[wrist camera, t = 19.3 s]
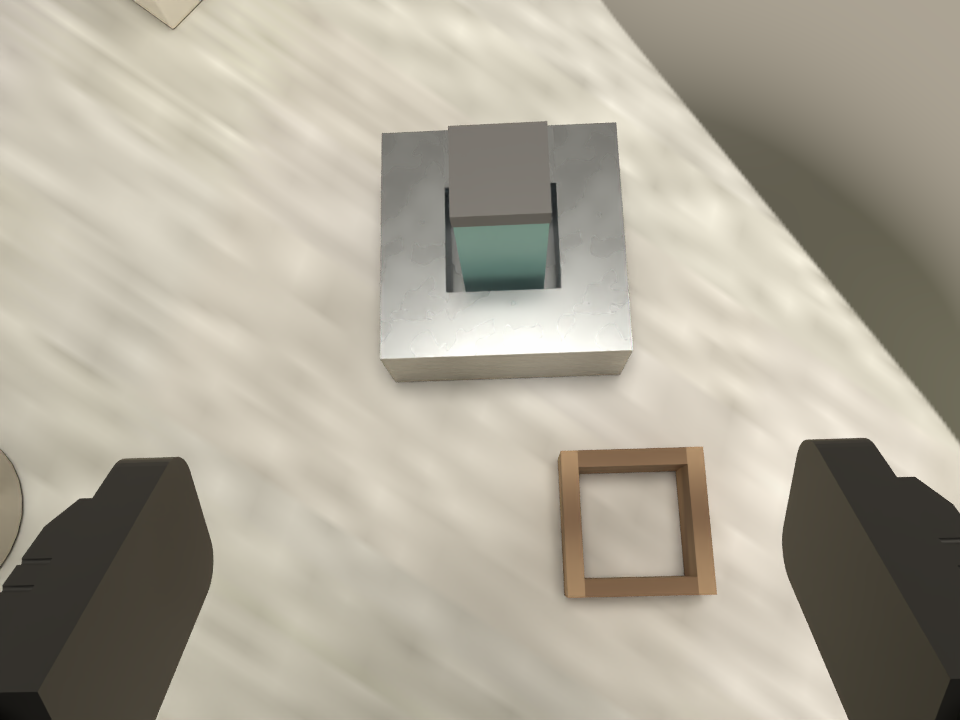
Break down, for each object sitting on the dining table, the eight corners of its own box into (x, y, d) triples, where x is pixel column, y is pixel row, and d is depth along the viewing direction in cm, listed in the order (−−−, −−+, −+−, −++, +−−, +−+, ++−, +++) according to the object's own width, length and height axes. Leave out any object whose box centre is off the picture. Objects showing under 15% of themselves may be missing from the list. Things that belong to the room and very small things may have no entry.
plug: (543, 301, 42) (551, 212, 32) (467, 304, 42) (449, 217, 32) (540, 229, 43) (547, 121, 33) (465, 233, 44) (447, 126, 33)
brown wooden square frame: (702, 592, 39) (716, 594, 36) (564, 595, 40) (567, 597, 37) (689, 455, 41) (703, 446, 38) (557, 459, 41) (560, 451, 38)
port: (620, 374, 42) (633, 350, 37) (395, 382, 43) (380, 358, 38) (605, 169, 45) (616, 122, 40) (396, 178, 46) (381, 133, 41)
